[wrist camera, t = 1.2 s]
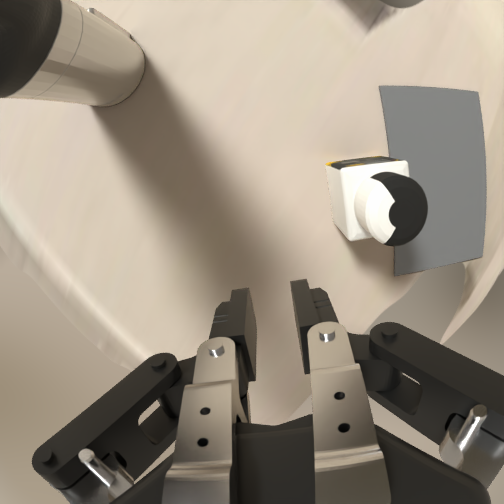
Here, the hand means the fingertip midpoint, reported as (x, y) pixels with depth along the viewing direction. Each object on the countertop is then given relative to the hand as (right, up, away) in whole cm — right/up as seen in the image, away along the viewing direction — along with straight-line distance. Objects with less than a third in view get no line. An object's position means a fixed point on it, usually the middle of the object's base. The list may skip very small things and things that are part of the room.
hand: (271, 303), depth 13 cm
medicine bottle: (+11, +10, +20) cm, 25 cm away
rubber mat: (+24, +12, +19) cm, 32 cm away
